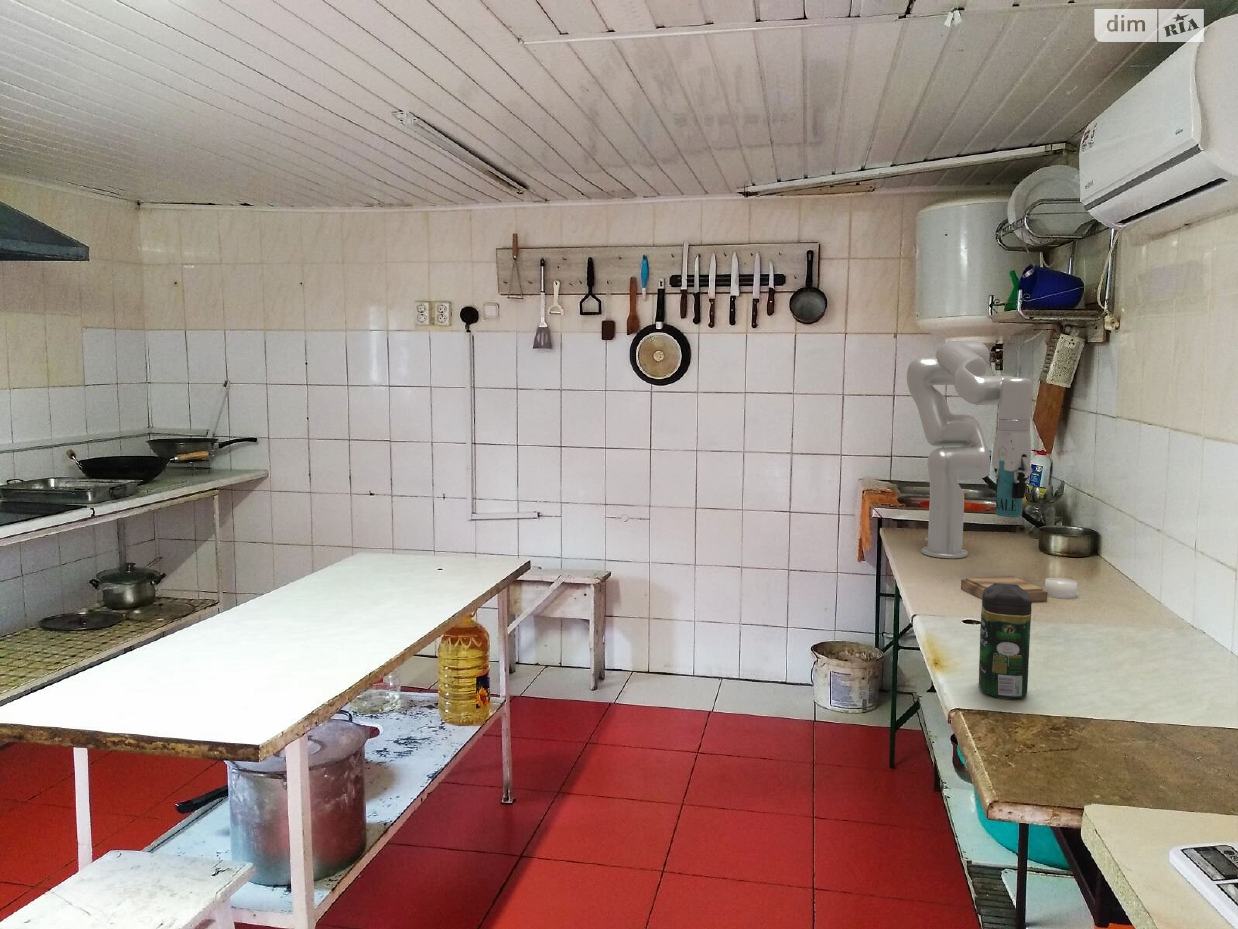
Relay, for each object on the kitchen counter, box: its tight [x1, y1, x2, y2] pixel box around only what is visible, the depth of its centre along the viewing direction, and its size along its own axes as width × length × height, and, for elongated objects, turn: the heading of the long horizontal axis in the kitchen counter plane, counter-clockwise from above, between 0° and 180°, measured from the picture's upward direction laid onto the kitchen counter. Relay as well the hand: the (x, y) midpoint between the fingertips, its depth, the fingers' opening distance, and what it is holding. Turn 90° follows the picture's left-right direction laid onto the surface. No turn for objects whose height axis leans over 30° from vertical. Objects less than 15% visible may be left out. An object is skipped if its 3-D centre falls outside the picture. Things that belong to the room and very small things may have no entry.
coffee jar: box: [978, 583, 1033, 700], centre depth 153 cm, size 10×8×19 cm
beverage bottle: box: [995, 460, 1024, 518], centre depth 227 cm, size 6×7×20 cm
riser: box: [960, 575, 1048, 603], centre depth 216 cm, size 14×14×3 cm
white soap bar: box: [1044, 577, 1078, 600], centre depth 216 cm, size 7×7×4 cm
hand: (1010, 495), depth 227 cm, fingers closed on beverage bottle, 6 cm apart
